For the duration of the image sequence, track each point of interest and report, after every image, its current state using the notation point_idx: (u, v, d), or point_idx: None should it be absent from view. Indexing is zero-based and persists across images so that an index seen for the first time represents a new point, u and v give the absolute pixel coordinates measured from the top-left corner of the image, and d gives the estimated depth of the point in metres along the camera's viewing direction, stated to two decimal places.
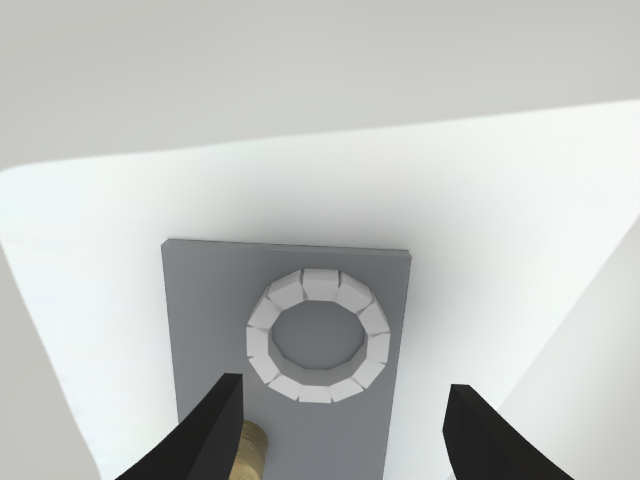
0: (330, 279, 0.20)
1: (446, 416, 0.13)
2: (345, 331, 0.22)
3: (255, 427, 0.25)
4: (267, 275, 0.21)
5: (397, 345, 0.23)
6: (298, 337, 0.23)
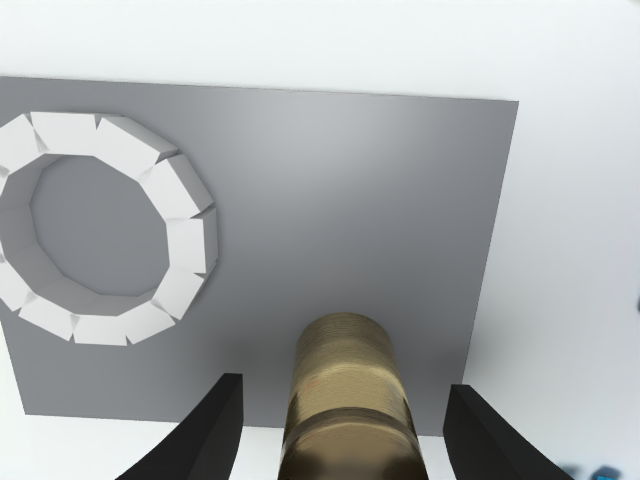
0: None
1: (446, 416, 0.13)
2: (102, 183, 0.13)
3: (305, 331, 0.15)
4: None
5: (112, 87, 0.12)
6: (127, 258, 0.14)
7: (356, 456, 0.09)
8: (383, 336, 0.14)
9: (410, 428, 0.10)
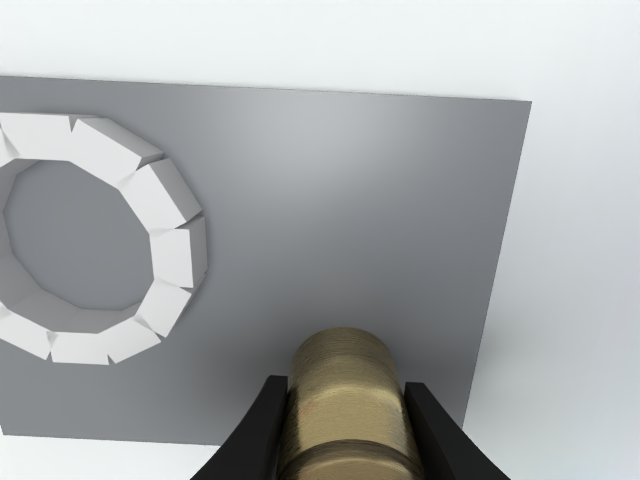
0: None
1: None
2: (81, 190, 0.12)
3: (301, 347, 0.14)
4: None
5: (91, 86, 0.11)
6: (110, 269, 0.13)
7: None
8: (385, 353, 0.13)
9: (416, 461, 0.09)
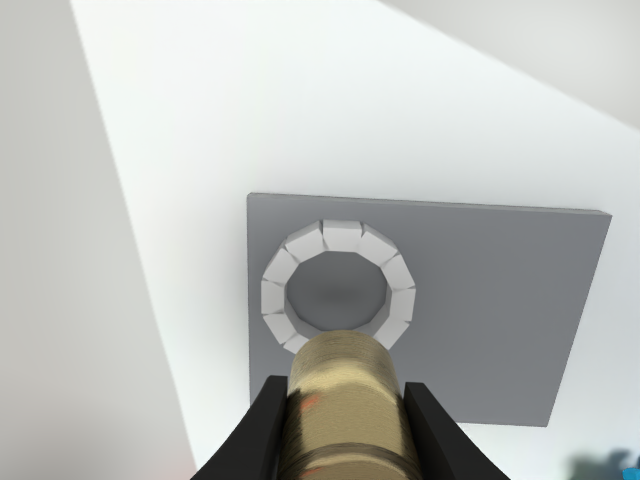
0: (261, 287, 0.20)
1: None
2: (338, 261, 0.20)
3: (299, 352, 0.14)
4: None
5: (357, 205, 0.19)
6: (345, 307, 0.21)
7: None
8: (382, 354, 0.13)
9: (412, 461, 0.09)
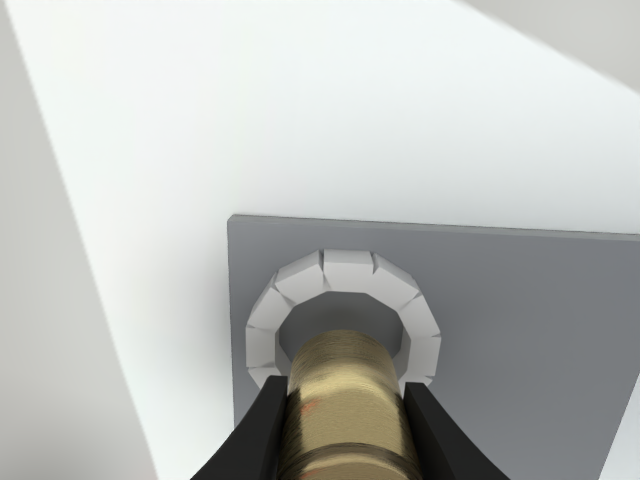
0: (246, 335, 0.16)
1: None
2: (342, 300, 0.16)
3: (299, 352, 0.14)
4: None
5: (367, 232, 0.15)
6: None
7: None
8: (382, 354, 0.13)
9: (412, 461, 0.09)
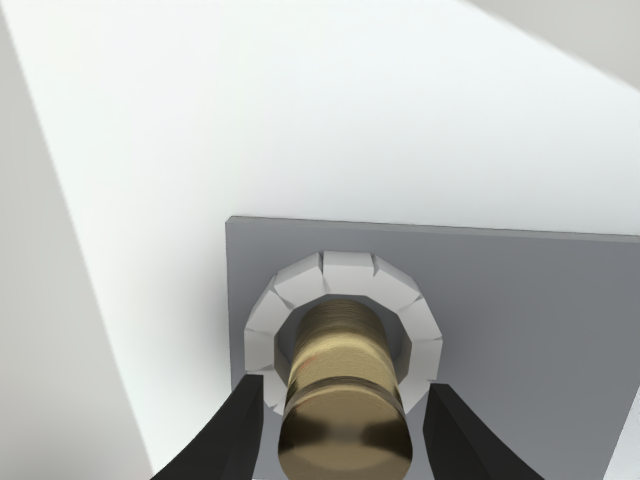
0: (245, 338, 0.15)
1: (425, 415, 0.13)
2: None
3: (304, 318, 0.16)
4: None
5: (367, 233, 0.15)
6: None
7: (344, 416, 0.11)
8: (374, 319, 0.16)
9: (394, 394, 0.12)
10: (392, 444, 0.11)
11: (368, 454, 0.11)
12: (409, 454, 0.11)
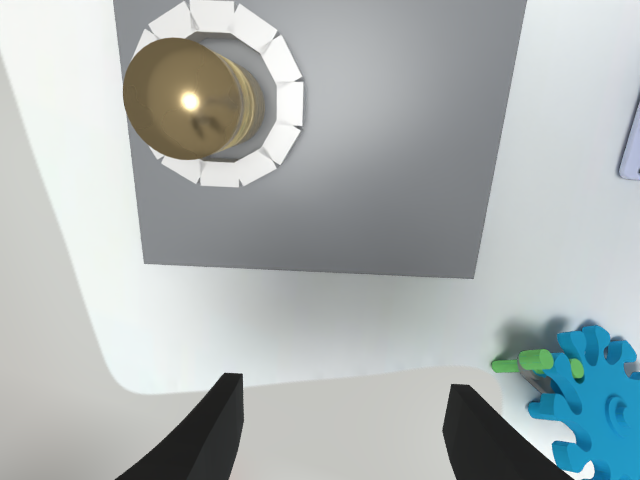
0: None
1: (446, 416, 0.13)
2: None
3: None
4: (161, 160, 0.20)
5: None
6: None
7: (174, 57, 0.13)
8: (247, 71, 0.17)
9: (229, 65, 0.14)
10: (218, 88, 0.13)
11: (200, 100, 0.13)
12: (234, 99, 0.13)
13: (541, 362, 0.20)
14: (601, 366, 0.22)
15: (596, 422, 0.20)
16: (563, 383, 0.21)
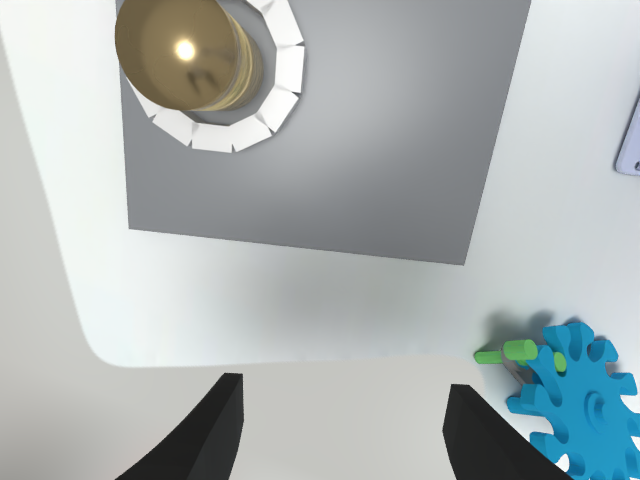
0: None
1: (446, 416, 0.13)
2: None
3: None
4: (153, 121, 0.19)
5: None
6: None
7: None
8: (247, 32, 0.17)
9: (229, 15, 0.13)
10: (215, 35, 0.12)
11: (195, 47, 0.12)
12: (232, 49, 0.12)
13: (525, 352, 0.20)
14: (583, 362, 0.22)
15: (575, 416, 0.20)
16: (545, 375, 0.20)
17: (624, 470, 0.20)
